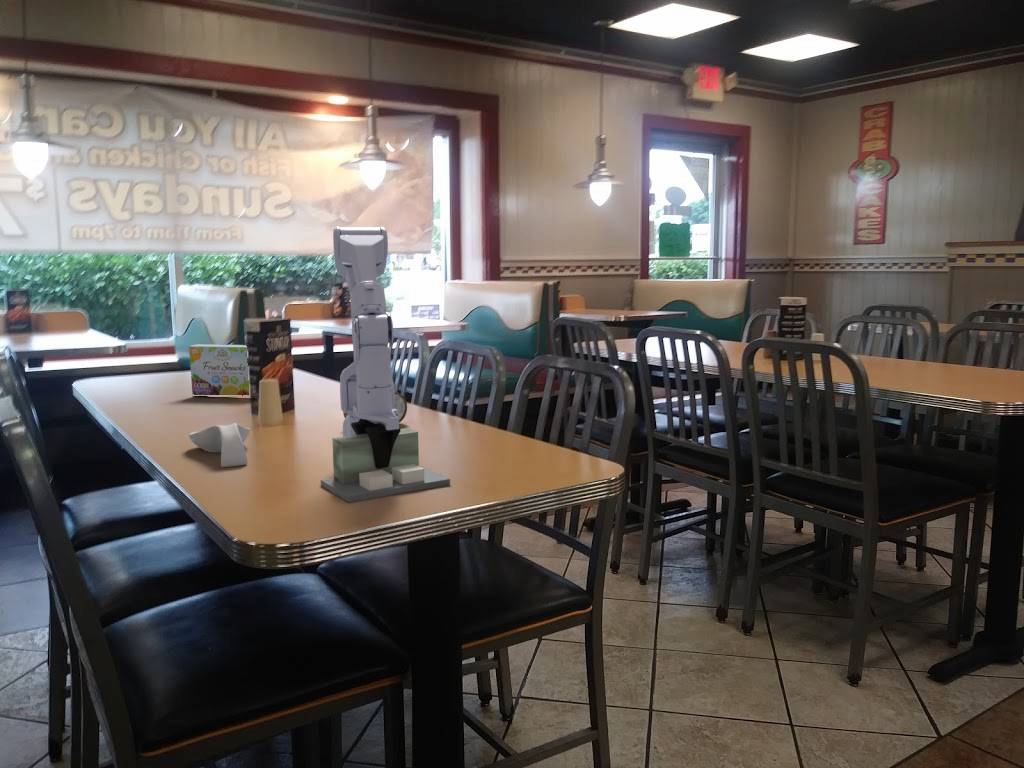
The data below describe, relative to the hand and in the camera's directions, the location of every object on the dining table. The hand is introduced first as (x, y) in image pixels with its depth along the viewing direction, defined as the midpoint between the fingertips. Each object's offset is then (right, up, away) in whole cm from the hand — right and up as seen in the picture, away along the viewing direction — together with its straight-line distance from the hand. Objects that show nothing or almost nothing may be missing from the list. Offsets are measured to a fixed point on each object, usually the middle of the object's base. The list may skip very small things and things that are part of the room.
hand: (376, 464), depth 136 cm
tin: (-8, +4, +48) cm, 49 cm away
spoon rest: (-34, -1, +22) cm, 40 cm away
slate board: (+2, -3, -2) cm, 4 cm away
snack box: (-58, +10, +94) cm, 111 cm away
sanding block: (0, -2, 0) cm, 2 cm away
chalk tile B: (+6, -2, -3) cm, 7 cm away
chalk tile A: (+1, -3, -7) cm, 7 cm away
